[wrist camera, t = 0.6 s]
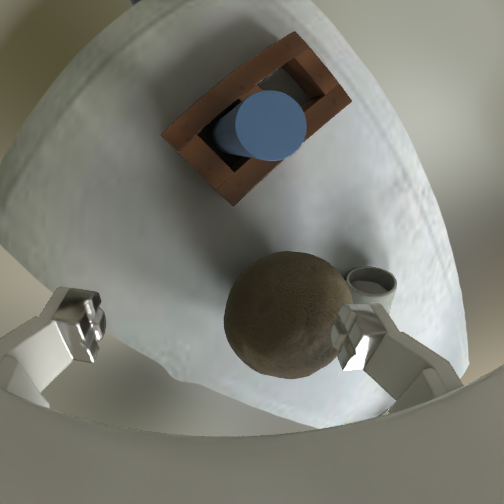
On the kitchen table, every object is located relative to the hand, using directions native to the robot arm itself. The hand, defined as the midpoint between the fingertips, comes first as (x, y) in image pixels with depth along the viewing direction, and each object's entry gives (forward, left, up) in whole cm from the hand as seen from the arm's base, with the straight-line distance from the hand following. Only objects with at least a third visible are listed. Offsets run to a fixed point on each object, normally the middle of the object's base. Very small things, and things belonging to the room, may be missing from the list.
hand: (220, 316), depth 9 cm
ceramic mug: (+28, +8, -24) cm, 38 cm away
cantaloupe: (+15, -2, -24) cm, 28 cm away
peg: (-2, +8, -24) cm, 25 cm away
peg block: (-2, +11, -24) cm, 26 cm away
